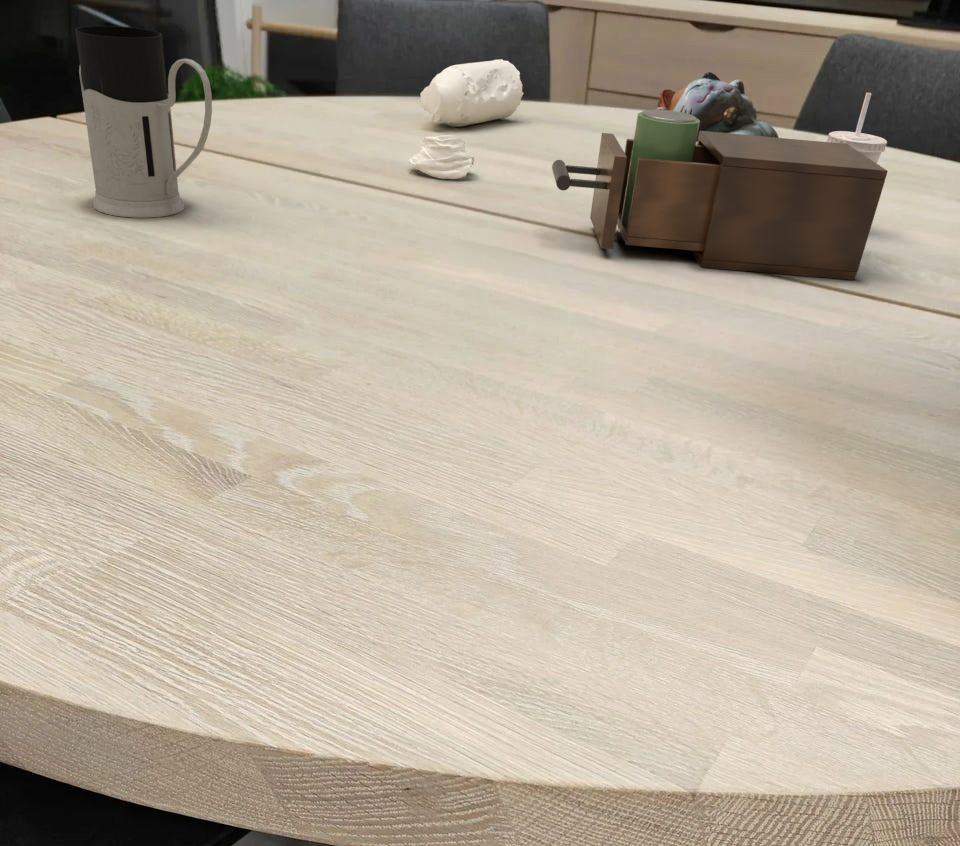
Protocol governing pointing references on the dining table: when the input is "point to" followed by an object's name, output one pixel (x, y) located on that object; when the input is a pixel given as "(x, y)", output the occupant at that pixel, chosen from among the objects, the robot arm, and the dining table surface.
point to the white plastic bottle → (473, 93)
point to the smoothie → (861, 137)
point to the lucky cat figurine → (717, 107)
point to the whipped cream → (443, 157)
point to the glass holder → (133, 120)
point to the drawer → (648, 196)
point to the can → (660, 143)
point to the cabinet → (789, 206)
